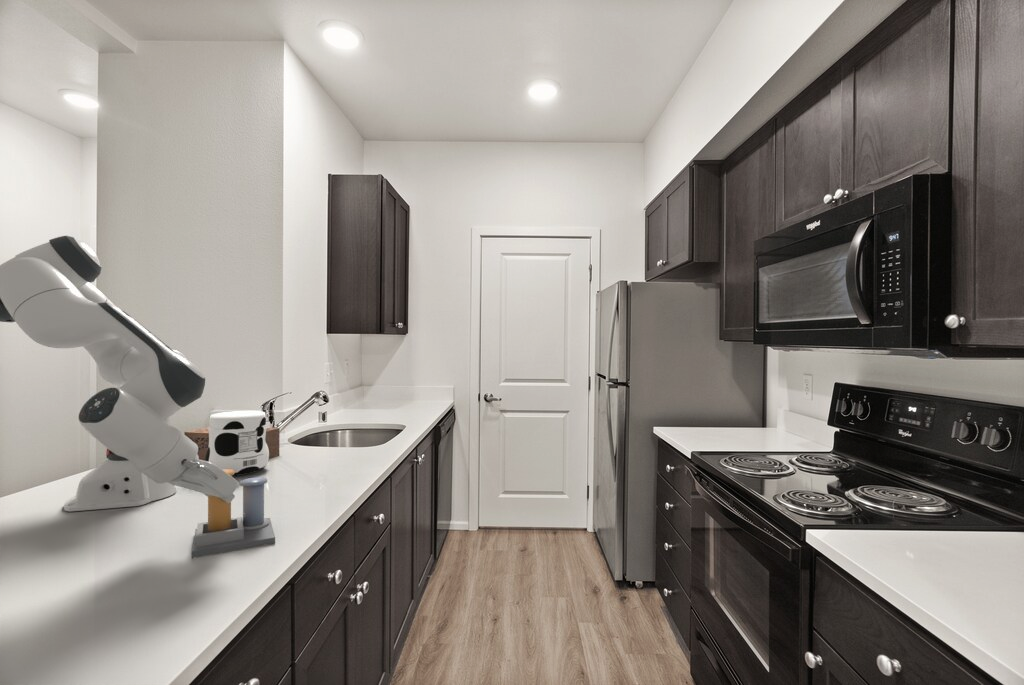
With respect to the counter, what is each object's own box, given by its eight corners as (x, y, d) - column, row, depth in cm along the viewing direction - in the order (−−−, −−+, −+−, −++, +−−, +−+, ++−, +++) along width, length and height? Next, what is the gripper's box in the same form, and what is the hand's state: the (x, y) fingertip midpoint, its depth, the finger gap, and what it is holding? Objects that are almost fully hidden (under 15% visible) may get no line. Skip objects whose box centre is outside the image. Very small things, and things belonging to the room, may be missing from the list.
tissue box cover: (279, 456, 180) (279, 428, 180) (250, 465, 166) (250, 435, 166) (217, 452, 185) (217, 425, 185) (184, 461, 171) (184, 431, 171)
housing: (192, 557, 94) (192, 500, 94) (195, 534, 105) (195, 483, 105) (275, 543, 101) (275, 489, 101) (269, 523, 112) (270, 474, 112)
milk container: (227, 465, 165) (227, 410, 165) (279, 465, 164) (279, 410, 164) (191, 479, 148) (192, 418, 148) (250, 480, 147) (250, 418, 147)
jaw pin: (203, 534, 98) (204, 477, 98) (204, 525, 102) (205, 471, 102) (234, 529, 100) (234, 473, 100) (234, 521, 105) (234, 468, 105)
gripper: (214, 450, 90) (264, 491, 98) (156, 438, 100) (206, 476, 109) (187, 480, 86) (242, 521, 94) (130, 465, 96) (184, 503, 105)
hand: (222, 497), depth 102 cm, fingers closed on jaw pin, 4 cm apart
